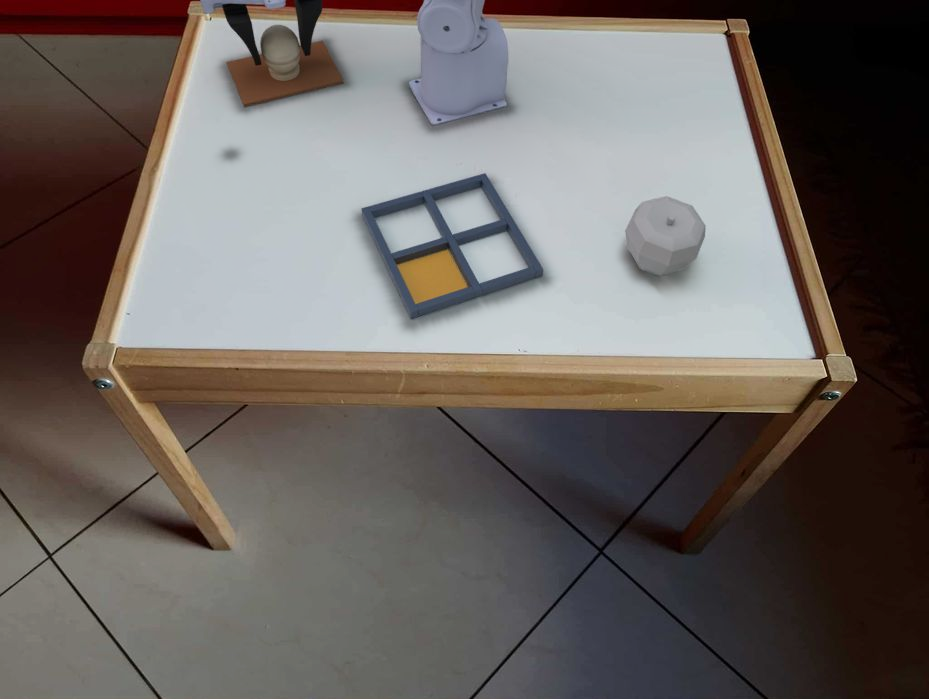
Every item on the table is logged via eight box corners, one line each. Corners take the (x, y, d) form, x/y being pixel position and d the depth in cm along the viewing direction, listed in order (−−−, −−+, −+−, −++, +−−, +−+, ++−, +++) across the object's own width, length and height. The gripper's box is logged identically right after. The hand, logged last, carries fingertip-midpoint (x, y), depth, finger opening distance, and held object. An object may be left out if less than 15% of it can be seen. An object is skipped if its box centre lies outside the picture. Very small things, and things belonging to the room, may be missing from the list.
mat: (323, 43, 93) (322, 40, 93) (343, 83, 89) (343, 80, 89) (227, 64, 90) (226, 61, 90) (244, 107, 86) (243, 104, 86)
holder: (484, 184, 82) (485, 172, 80) (541, 279, 75) (543, 269, 74) (362, 219, 78) (361, 208, 77) (410, 322, 72) (410, 312, 70)
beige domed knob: (298, 56, 91) (291, 13, 86) (307, 79, 89) (300, 36, 84) (262, 63, 90) (252, 20, 85) (270, 86, 88) (261, 44, 83)
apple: (614, 227, 79) (628, 183, 74) (688, 233, 79) (708, 189, 74) (618, 288, 75) (633, 246, 69) (696, 294, 75) (718, 252, 69)
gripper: (193, -26, 73) (225, 89, 84) (339, -50, 76) (351, 64, 87) (181, -66, 76) (213, 50, 87) (321, -87, 79) (334, 28, 91)
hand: (281, 55), depth 88 cm, fingers open, 5 cm apart
